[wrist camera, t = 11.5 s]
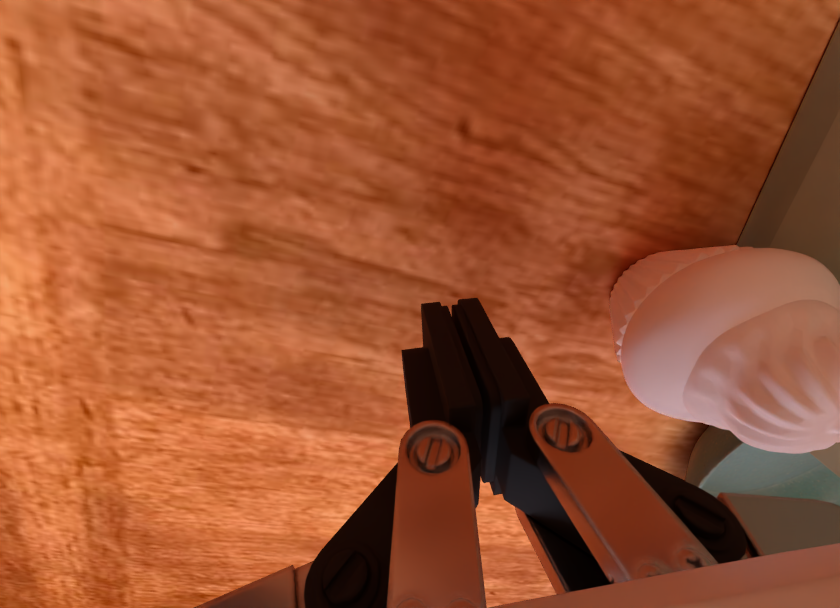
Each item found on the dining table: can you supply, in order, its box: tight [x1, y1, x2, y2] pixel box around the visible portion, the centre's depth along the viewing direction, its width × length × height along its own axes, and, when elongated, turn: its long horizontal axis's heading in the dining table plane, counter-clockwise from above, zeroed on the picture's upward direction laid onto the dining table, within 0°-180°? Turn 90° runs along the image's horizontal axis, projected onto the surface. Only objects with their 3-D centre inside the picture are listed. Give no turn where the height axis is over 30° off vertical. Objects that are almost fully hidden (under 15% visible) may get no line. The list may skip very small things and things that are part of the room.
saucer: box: [685, 425, 840, 506], centre depth 19 cm, size 15×15×3 cm
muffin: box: [609, 245, 840, 454], centre depth 11 cm, size 6×6×7 cm
